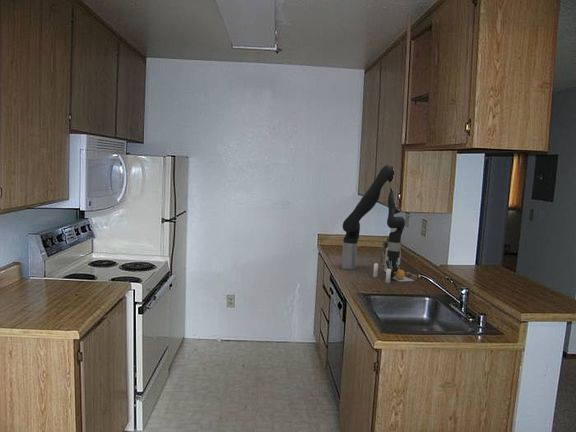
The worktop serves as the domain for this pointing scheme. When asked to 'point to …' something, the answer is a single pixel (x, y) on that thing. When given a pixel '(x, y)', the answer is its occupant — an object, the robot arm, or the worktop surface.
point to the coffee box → (383, 252)
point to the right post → (388, 275)
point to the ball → (399, 274)
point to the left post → (375, 270)
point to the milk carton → (387, 260)
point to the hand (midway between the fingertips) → (391, 277)
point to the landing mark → (403, 279)
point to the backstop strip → (411, 276)
